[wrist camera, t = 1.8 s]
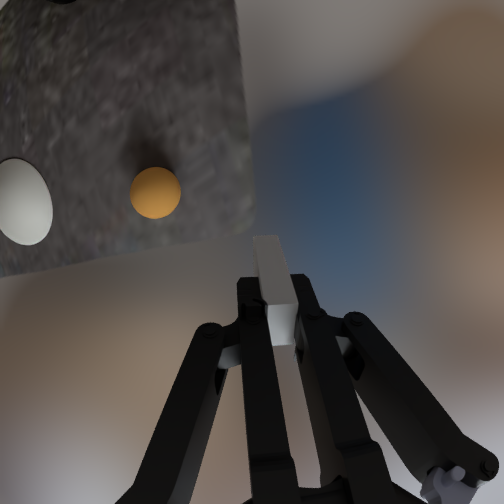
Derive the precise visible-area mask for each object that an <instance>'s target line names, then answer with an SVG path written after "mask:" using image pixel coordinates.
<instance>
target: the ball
mask: <svg viewBox="0 0 504 504" xmlns="http://www.w3.org/2000/svg"><path fill="white" fill-rule="evenodd" d="M180 195H181V189H180V184H179V182H178V180H177V178H176V177H175V175H174V174H173V173H172V172H170V171H169V170H167V169H165V168H161V167H151V168H147V169H145V170H143V171H142V172H140V173H139V174H138V175H137V176H136V177H135V179H134V180H133V182H132V185H131V188H130V199H131V202H132V205H133V207H134V208H135V209H136V211H137V212H138V213H140V214H141V215H143V216H145V217H148V218H161V217H164V216H166V215H168V214H170V213H171V212H172V211H173V210H174V209H175V208H176V206H177V204H178V202H179V200H180Z"/></svg>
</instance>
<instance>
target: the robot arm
mask: <svg viewBox="0 0 504 504" xmlns="http://www.w3.org/2000/svg"><path fill="white" fill-rule="evenodd" d="M253 260H254V262H253V267H254V268H253V269H254V277H241V278H240V279H239V281H238V282H237V300H238V318H237V319H236V321H235V322H233V323H232V324H230V325H227V326H224V327H222V326H221V325H220V324H217V323H205V324H202V325H201V326H199V327H198V329H197V330H196V332H195V334H194V336H193V339H192V341H191V343H190V346H189V348H188V350H187V353H186V355H185V358H184V360H183V362H182V365H181V367H180V369H179V372H178V374H177V377H176V379H175V381H174V384H173V386H172V389H171V391H170V394H169V396H168V398H167V401H166V403H165V406H164V408H163V411H162V413H161V415H160V418H159V420H158V423H157V425H156V428H155V431H154V433H153V435H152V438H151V440H150V443H149V445H148V448H147V450H146V453H145V456H144V458H143V460H142V463H141V466H140V468H139V471H138V473H137V476H136V478H135V481H134V483H133V485H132V486H131V488H129V489H128V490H127V492H126V493H125V494H124V495H123V496H122V497H121V498H120V499H119V500H118V501H117V502H116V503H115V504H189V503H190V500H191V497H192V493H193V490H194V487H195V483H196V480H197V477H198V473H199V470H200V466H201V463H202V459H203V456H204V452H205V449H206V446H207V442H208V439H209V435H210V431H211V428H212V425H213V421H214V418H215V415H216V411H217V407H218V404H219V400H220V397H221V393H222V390H223V387H224V383H225V379H226V376H227V372H228V368H230V367H233V366H236V365H240V364H241V367H242V382H243V394H244V395H243V396H244V409H245V422H246V434H247V446H248V458H249V470H250V482H251V494H252V498H250V499H249V500H247V501H246V502H244V503H243V504H427V503H426V502H424V501H422V500H421V499H419V498H417V497H416V496H414V495H412V494H411V493H409V492H408V491H406V490H405V489H403V488H401V487H400V486H398V485H397V484H395V483H394V482H392V481H391V478H390V475H389V471H388V468H387V465H386V462H385V459H384V456H383V452H382V449H381V447H380V445H379V444H378V442H376V441H373V440H372V439H371V437H370V434H369V431H368V428H367V425H366V422H365V419H364V416H363V413H362V410H361V407H360V404H359V401H358V398H357V395H356V392H357V393H358V395H359V396H360V398H361V399H362V401H363V402H364V404H365V405H366V407H367V408H368V410H369V411H370V413H371V414H372V416H373V417H374V419H375V420H376V422H377V423H378V425H379V426H380V428H381V429H382V431H383V433H384V434H385V435H386V437H387V439H388V440H389V442H390V443H391V445H392V446H393V448H394V449H395V451H396V452H397V454H398V455H399V457H400V458H401V460H402V461H403V463H404V464H405V466H406V467H407V469H408V470H409V471H410V473H411V474H412V475H413V476H414V477H415V478H416V479H417V480H418V481H419V482H420V483H422V489H421V491H420V495H421V497H422V498H424V499H426V500H427V501H428V504H469V503H470V501H471V500H472V498H473V496H474V495H475V493H476V491H477V489H478V488H479V487H480V486H482V485H483V484H485V483H487V482H488V481H490V480H492V479H493V478H494V477H495V476H496V474H497V473H498V470H499V461H498V459H497V457H496V456H495V455H494V454H493V453H492V452H490V451H488V450H487V449H485V448H484V447H482V446H481V445H479V444H478V443H476V442H474V441H473V440H472V439H470V438H469V437H467V436H465V435H464V434H463V433H462V432H461V431H460V429H459V428H458V426H457V425H456V424H455V423H454V421H453V420H452V419H451V417H450V416H449V415H448V414H447V412H446V411H445V410H444V408H443V407H442V406H441V405H440V403H439V402H438V401H437V400H436V398H435V397H434V396H433V395H432V393H431V392H430V391H429V390H428V388H427V387H426V386H425V385H424V383H423V382H422V381H421V380H420V378H419V377H418V376H417V375H416V374H415V372H414V371H413V370H412V369H411V367H410V366H409V365H408V364H407V363H406V361H405V360H404V359H403V358H402V357H401V355H400V354H399V353H398V352H397V351H396V350H395V348H394V347H393V346H392V345H391V344H390V342H389V341H388V340H387V339H386V338H385V337H384V335H383V334H382V333H381V332H380V331H379V330H378V329H377V327H376V326H375V325H374V324H373V323H372V322H371V320H370V319H369V318H368V317H367V316H366V315H364V314H363V313H360V312H349V313H347V314H346V315H345V316H344V318H337V317H332V316H329V315H327V313H326V312H325V310H323V309H322V308H320V306H319V303H318V301H317V299H316V296H315V293H314V291H313V288H312V286H311V283H310V280H309V278H307V276H305V275H304V274H289V270H288V267H287V264H286V261H285V258H284V254H283V251H282V248H281V245H280V242H279V239H278V236H277V235H269V236H253ZM294 338H295V342H296V347H295V355H294V362H295V361H296V358H297V362H298V367H299V371H300V375H301V380H302V384H303V388H304V393H305V398H306V402H307V406H308V412H309V416H310V421H311V425H312V430H313V435H314V440H315V444H316V449H317V454H318V458H319V464H320V469H321V474H320V484H321V488H302V487H299V486H298V481H297V475H296V469H295V464H294V460H293V458H292V457H291V454H290V449H289V443H288V437H287V431H286V425H285V419H284V414H283V407H282V401H281V396H280V389H279V384H278V377H277V372H276V366H275V360H274V354H273V348H272V346H276V345H287V344H293V342H294ZM355 390H356V392H355Z"/></svg>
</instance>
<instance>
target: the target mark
mask: <svg viewBox="0 0 504 504" xmlns="http://www.w3.org/2000/svg"><path fill="white" fill-rule="evenodd" d="M52 217H53V206H52V200H51V195H50V192H49V189H48V187H47V185H46V183H45V181H44V179H43V177H42V176H41V174H40V173H39V172H38V171H37V170H36V169H35V168H34V167H33V166H32V165H31V164H29V163H28V162H26V161H23V160H21V159H9V160H6V161H4V162H2V163H1V164H0V229H1V231H2V232H3V233H4V234H5V235H6V236H7V237H9V238H10V239H11V240H13V241H14V242H17V243H19V244H22V245H33V244H36V243H38V242H40V241H41V240H42V239H43V238H44V237H45V236H46V235H47V233H48V231H49V229H50V227H51V223H52Z"/></svg>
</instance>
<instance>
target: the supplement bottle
mask: <svg viewBox="0 0 504 504" xmlns="http://www.w3.org/2000/svg"><path fill="white" fill-rule="evenodd" d="M47 1H50V2H53V3H56V4H68V3H72V2H74V1H76V0H47Z"/></svg>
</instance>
